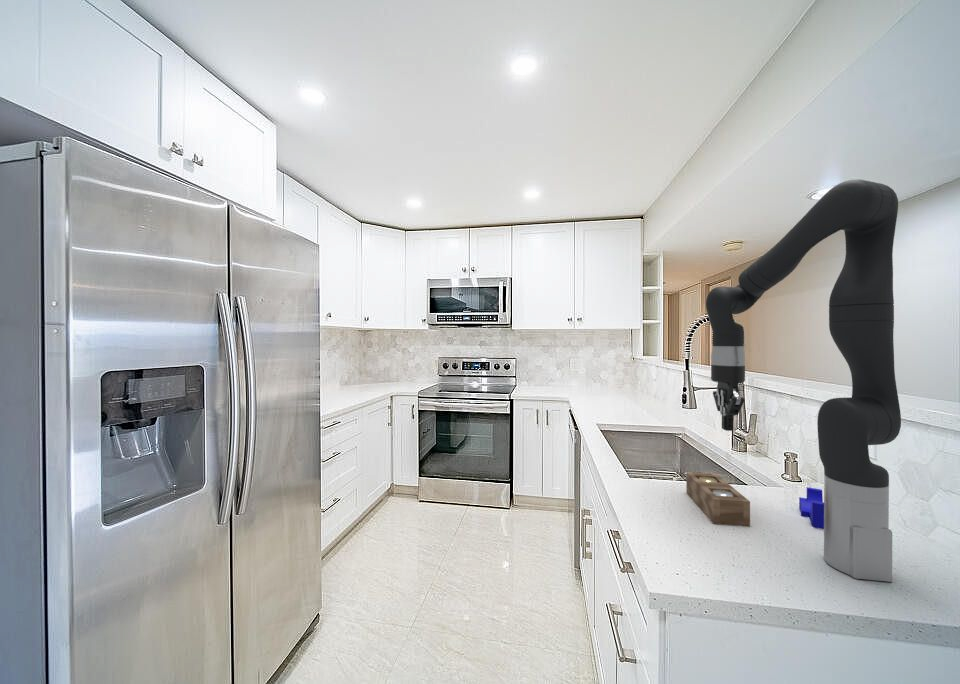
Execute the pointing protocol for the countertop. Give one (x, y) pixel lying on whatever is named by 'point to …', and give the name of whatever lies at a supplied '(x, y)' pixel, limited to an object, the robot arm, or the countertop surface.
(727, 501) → the wooden peg holder
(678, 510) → the countertop surface
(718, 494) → the steel peg
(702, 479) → the brass peg
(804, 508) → the blue block piece
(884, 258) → the robot arm
